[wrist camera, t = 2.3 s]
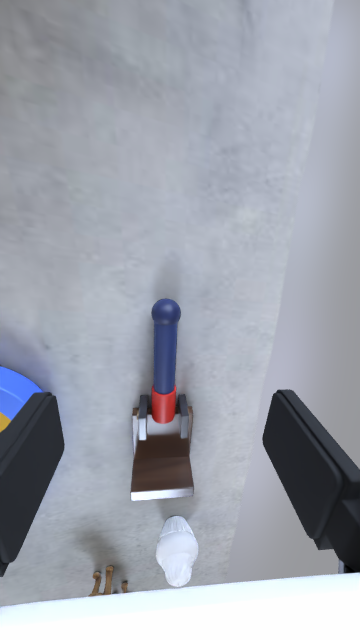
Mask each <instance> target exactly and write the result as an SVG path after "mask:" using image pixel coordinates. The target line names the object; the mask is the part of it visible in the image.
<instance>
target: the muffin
mask: <svg viewBox="0 0 360 640" xmlns="http://www.w3.org/2000/svg"><path fill="white" fill-rule="evenodd" d="M198 551H199V547H198V543H197V541H196V539H195V536H194V534H193V532H192V530H191V529H190V527H189V525H188V523H187V522H186V520H185V519H184V518H183V517H182V516H173V517H170V518H169V519H167V520H166V521H165V524H164V527H163V529H162V532H161V534H160V537H159V540H158V545H157V549H156V559H157V561H158V563H159V565H160V566H161V567H162V568H163V570H164V572H165V577H166V580H167V582H168V583H169V584H170V585H171V586H175V587H176V586H178V587H180V586H182V585H185V584H186V583H188V581H189V580H190V578H191V574H192V567H193V564H194V561H195V560H196V558H197V556H198Z"/></svg>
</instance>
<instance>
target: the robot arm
mask: <svg viewBox="0 0 360 640" xmlns="http://www.w3.org/2000/svg"><path fill="white" fill-rule="evenodd" d="M263 445H264V447H265V450H266V452H267V454H268V456H269V458H270V460H271V462H272V464H273V466H274V468H275V470H276V472H277V474H278V476H279V478H280V480H281V482H282V484H283V486H284V488H285V491H286V492H287V495H288V497H289V499H290V501H291V503H292V505H293V507H294V509H295V511H296V513H297V515H298V517H299V519H300V521H301V523H302V525H303V527H304V530H305V531H306V533H307V535H308V536H309V537H310V538H311V539H313V540H314V542H315V544H316V546H317V548H318V550H325V549H334V551H335V553H336V555H337V556H338V558H339V571H338V574H331V575H316V576H304V577H293V578H281V579H270V580H260V581H247V582H236V583H227V584H215V585H204V586H194V587H183V588H173V589H162V590H152V591H142V592H131V593H121V594H112V595H102V596H92V597H82V598H72V599H62V600H52V601H42V602H34V603H26V604H18V605H10V606H2V607H0V640H360V469H359V468H358V467H357V466H356V465H355V464H354V462H353V461H352V460H351V459H350V458H349V456H348V455H347V454H346V453H345V452H344V450H343V449H342V448H341V447H340V446H339V445H338V443H337V442H336V441H335V440H334V439H333V437H332V436H331V435H330V434H329V433H328V432H327V430H326V429H325V428H324V427H323V426H322V424H321V423H320V422H319V421H318V420H317V419H316V417H315V416H314V415H313V414H312V413H311V411H310V410H309V409H308V408H307V407H306V406H305V405H304V403H303V402H302V401H301V400H300V399H299V397H298V396H297V395H296V394H295V393H294V391H292V390H277V392H276V393H274V394H273V396H272V401H271V405H270V409H269V413H268V417H267V421H266V425H265V429H264V433H263ZM63 451H64V439H63V433H62V427H61V422H60V416H59V410H58V405H57V399H56V397H55V396H52V394H51V393H50V392H35V393H33V394H32V395H31V397H30V398H29V399H28V401H27V402H26V403H25V404H24V406H23V407H22V408H21V409H20V411H19V412H18V413H17V414H16V416H15V417H14V418H13V419H12V421H11V422H10V423H9V424H8V426H7V427H6V428H5V429H4V430H2V431H1V432H0V577H3V575H4V573H5V571H6V569H7V567H8V564H9V563H11V562H13V561H14V560H15V559H16V557H17V555H18V553H19V551H20V549H21V547H22V545H23V542H24V540H25V538H26V535H27V533H28V531H29V529H30V526H31V524H32V522H33V520H34V517H35V515H36V513H37V511H38V508H39V506H40V504H41V502H42V499H43V497H44V495H45V493H46V490H47V488H48V486H49V484H50V481H51V479H52V477H53V475H54V472H55V470H56V468H57V465H58V463H59V461H60V459H61V456H62V454H63Z"/></svg>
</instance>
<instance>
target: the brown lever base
mask: <svg viewBox="0 0 360 640" xmlns="http://www.w3.org/2000/svg"><path fill="white" fill-rule="evenodd" d="M192 421H193V410H192V406H187V402H186V396H185V394H180V395H179V396H178V407H175V417H174V419H173V420H172V421H171V422H169V423H166V424H160V423H157V422H155V421H154V420H153V418H152V408H148V396H147V395H143V396H141V397H140V407H139V408H133V413H132V426H133V454H134V462H133V472H132V482H131V492H130V493H131V501H136V500H149V499H162V498H175V497H188V496H193V492H194V485H193V478H192V471H191V464H190V457H189V455H190V444H191V432H192Z"/></svg>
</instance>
